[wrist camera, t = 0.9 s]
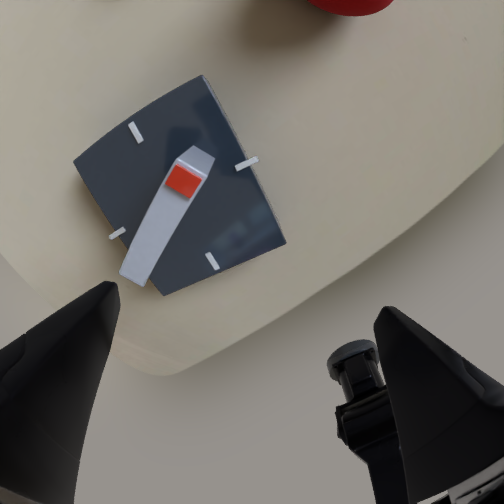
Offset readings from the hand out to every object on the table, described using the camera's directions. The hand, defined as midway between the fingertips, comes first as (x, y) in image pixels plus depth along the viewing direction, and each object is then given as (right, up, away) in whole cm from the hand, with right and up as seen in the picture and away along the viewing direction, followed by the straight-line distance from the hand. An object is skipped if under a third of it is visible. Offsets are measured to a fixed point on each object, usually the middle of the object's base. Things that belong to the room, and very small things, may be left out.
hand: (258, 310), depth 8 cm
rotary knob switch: (-5, +7, +10) cm, 13 cm away
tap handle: (-5, +5, +8) cm, 10 cm away
